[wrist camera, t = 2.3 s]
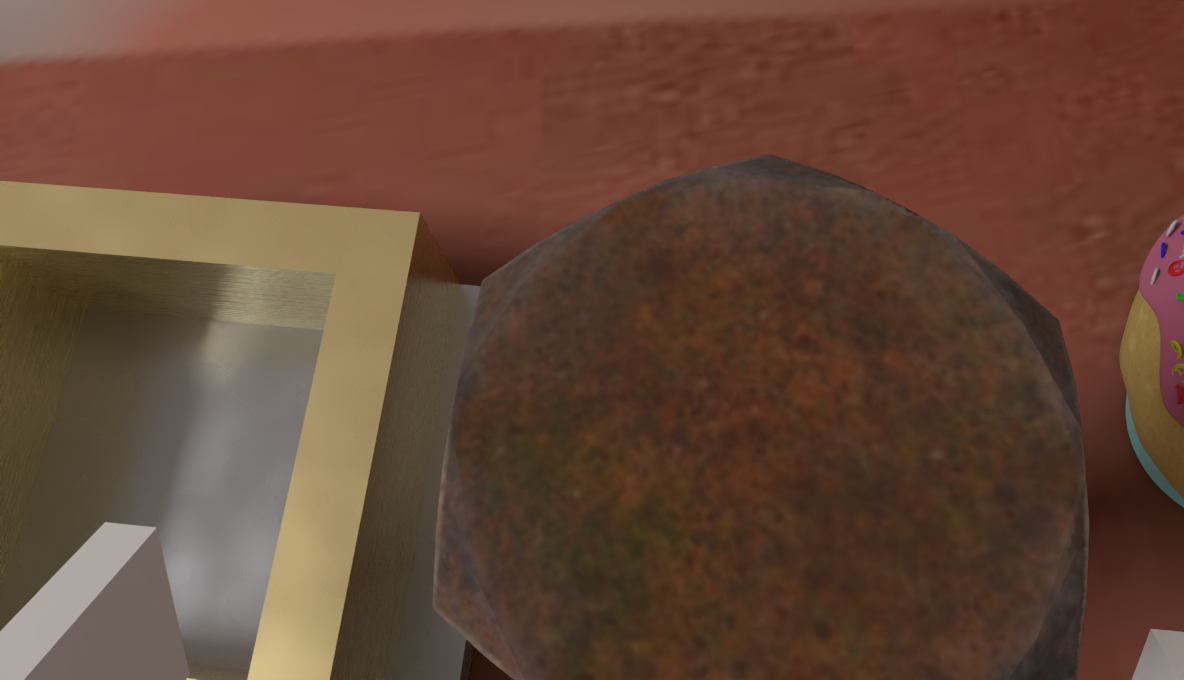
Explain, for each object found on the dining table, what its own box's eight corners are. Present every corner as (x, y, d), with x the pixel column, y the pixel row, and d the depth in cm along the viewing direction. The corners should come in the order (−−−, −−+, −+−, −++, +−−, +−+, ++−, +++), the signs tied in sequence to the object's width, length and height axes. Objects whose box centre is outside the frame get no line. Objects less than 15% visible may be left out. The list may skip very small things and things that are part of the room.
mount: (525, 303, 24) (490, 218, 20) (455, 768, 21) (392, 801, 16) (21, 260, 26) (-124, 171, 21) (-121, 687, 22) (-332, 694, 18)
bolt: (630, 751, 21) (545, 953, 7) (541, 538, 22) (317, 328, 8) (868, 638, 21) (1276, 594, 7) (763, 436, 23) (919, 66, 8)
